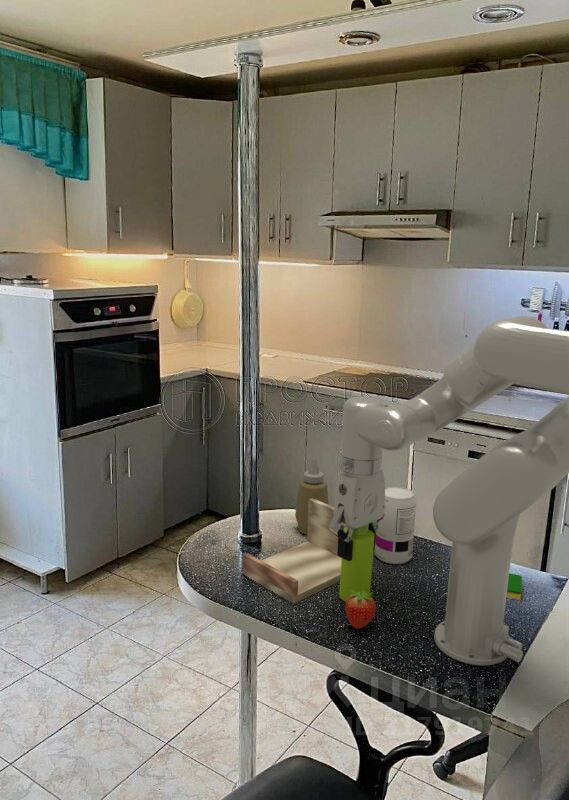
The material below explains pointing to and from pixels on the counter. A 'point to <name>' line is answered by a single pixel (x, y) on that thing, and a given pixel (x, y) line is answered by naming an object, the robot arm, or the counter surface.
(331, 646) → the counter surface
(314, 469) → the squeeze bottle
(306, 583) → the wooden holder
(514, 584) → the dish sponge
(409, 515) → the supplement can
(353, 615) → the fruit
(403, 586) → the counter surface
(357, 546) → the soap dispenser
